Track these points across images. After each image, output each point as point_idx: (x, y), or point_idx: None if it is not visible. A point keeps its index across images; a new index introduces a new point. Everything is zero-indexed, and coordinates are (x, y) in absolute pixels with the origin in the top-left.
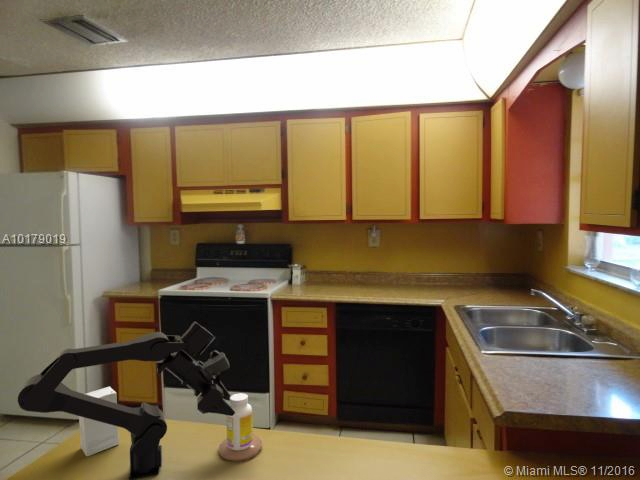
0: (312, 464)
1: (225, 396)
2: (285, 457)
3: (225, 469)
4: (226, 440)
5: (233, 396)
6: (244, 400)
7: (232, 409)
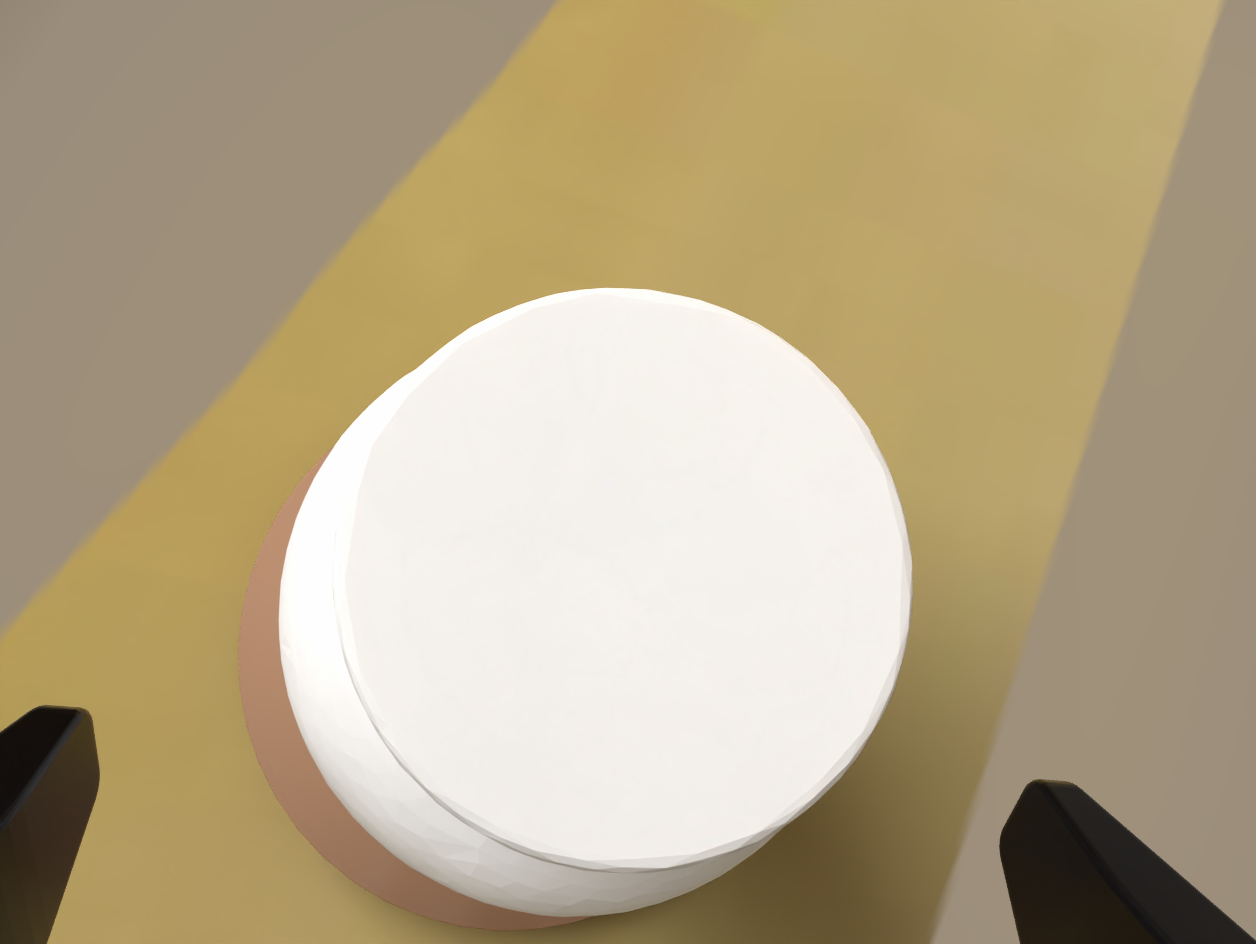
0: (1050, 79)
1: (7, 931)
2: (866, 244)
3: (858, 882)
4: (332, 801)
5: (521, 728)
6: (872, 451)
7: (1170, 868)
